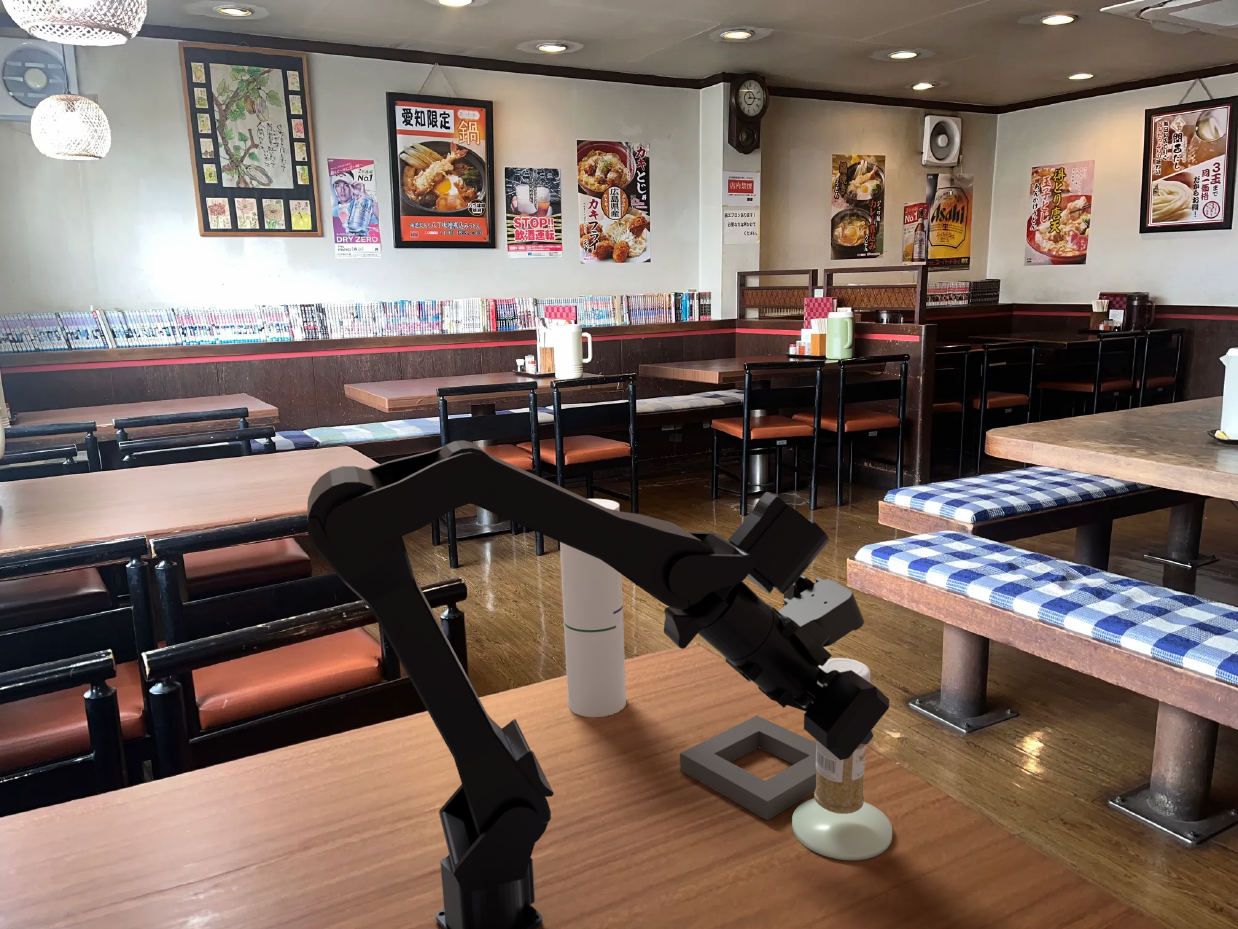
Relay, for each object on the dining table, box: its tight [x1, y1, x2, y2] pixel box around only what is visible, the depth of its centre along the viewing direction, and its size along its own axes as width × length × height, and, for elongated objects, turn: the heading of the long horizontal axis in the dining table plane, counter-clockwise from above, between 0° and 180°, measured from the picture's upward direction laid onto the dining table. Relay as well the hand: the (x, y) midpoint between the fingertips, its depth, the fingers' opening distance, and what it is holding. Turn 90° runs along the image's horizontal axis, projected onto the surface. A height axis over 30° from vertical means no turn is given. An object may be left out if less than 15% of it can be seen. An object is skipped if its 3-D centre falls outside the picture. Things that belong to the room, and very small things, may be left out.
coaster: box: [791, 797, 893, 861], centre depth 81 cm, size 9×9×1 cm
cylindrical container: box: [559, 498, 627, 718], centre depth 105 cm, size 7×7×25 cm
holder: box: [679, 715, 817, 821], centre depth 91 cm, size 12×12×2 cm
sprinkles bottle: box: [813, 657, 871, 814], centre depth 80 cm, size 5×5×13 cm
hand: (854, 727), depth 80 cm, fingers closed on sprinkles bottle, 4 cm apart
